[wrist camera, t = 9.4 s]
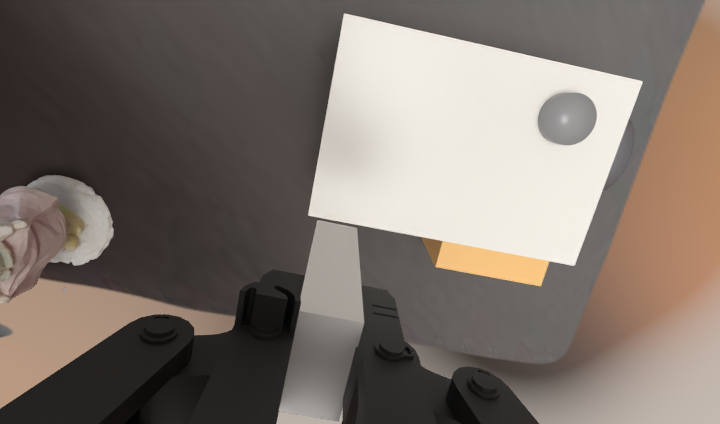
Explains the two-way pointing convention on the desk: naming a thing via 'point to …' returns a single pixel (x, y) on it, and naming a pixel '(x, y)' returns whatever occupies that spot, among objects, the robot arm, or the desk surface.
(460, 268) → the side door
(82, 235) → the figurine
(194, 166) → the desk surface
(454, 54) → the block
